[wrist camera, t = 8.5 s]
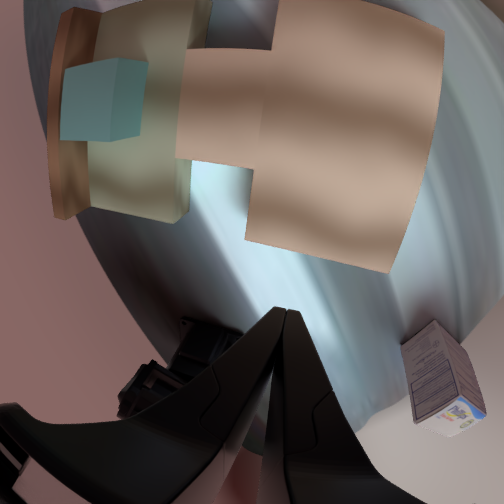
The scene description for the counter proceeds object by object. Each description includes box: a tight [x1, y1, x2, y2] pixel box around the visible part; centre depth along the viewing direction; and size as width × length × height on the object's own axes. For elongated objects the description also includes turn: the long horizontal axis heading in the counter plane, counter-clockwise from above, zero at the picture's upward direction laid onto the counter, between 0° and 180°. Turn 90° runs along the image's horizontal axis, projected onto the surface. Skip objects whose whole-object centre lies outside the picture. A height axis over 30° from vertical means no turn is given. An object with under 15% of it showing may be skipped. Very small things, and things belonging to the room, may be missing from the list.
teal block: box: [60, 57, 149, 142], centre depth 13 cm, size 5×5×3 cm
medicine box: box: [400, 320, 486, 438], centre depth 17 cm, size 8×4×9 cm, turn 56°
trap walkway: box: [47, 0, 445, 274], centre depth 13 cm, size 16×24×6 cm, turn 82°
